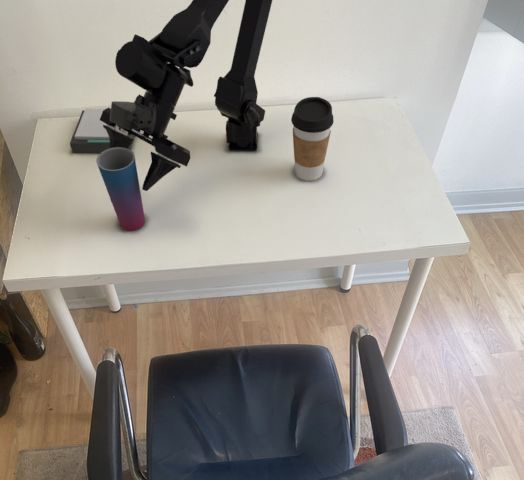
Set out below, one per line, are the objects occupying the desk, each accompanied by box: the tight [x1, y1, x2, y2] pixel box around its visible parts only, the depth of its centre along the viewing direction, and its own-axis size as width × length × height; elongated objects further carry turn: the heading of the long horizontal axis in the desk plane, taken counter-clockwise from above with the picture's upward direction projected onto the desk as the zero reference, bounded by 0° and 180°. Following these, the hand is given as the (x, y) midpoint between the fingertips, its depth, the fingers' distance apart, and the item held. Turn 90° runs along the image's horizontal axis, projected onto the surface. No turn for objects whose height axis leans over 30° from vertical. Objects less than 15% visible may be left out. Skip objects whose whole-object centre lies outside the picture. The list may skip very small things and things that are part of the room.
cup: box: [95, 147, 146, 232], centre depth 103 cm, size 7×7×15 cm
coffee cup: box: [290, 96, 335, 182], centre depth 111 cm, size 8×8×15 cm
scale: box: [69, 107, 135, 154], centre depth 124 cm, size 13×13×3 cm
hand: (127, 180), depth 102 cm, fingers open, 9 cm apart
